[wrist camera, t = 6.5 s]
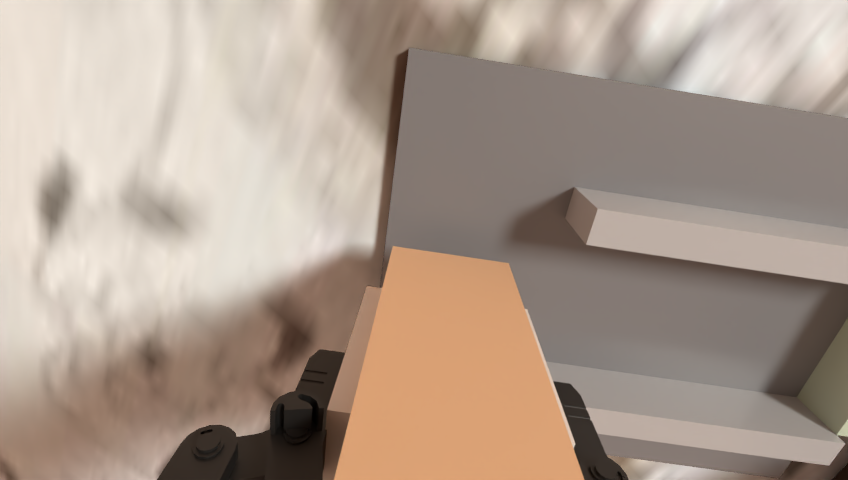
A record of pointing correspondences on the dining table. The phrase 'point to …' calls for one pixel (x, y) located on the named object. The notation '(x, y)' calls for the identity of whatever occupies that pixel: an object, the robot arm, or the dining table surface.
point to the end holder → (647, 250)
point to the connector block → (453, 381)
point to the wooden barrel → (842, 474)
